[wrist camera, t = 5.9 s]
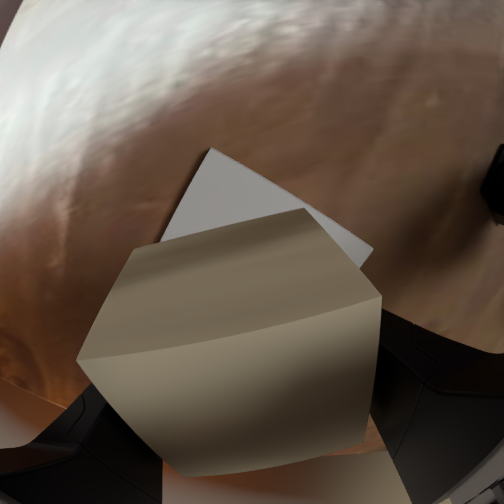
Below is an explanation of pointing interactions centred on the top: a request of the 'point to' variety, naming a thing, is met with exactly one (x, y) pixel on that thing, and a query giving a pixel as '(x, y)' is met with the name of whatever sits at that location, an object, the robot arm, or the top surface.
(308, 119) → the top surface
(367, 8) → the top surface
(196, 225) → the white square plate
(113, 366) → the maple block
